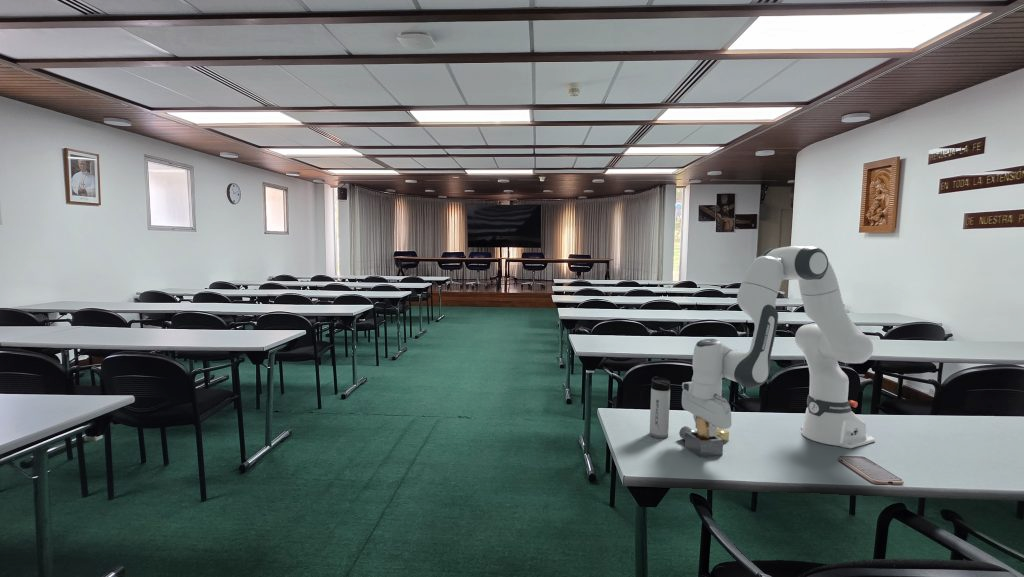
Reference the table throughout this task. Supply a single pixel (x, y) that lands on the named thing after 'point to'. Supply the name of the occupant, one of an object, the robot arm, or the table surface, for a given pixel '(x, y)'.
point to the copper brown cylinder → (703, 429)
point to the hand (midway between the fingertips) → (704, 432)
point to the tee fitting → (701, 443)
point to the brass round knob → (722, 434)
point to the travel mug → (659, 407)
